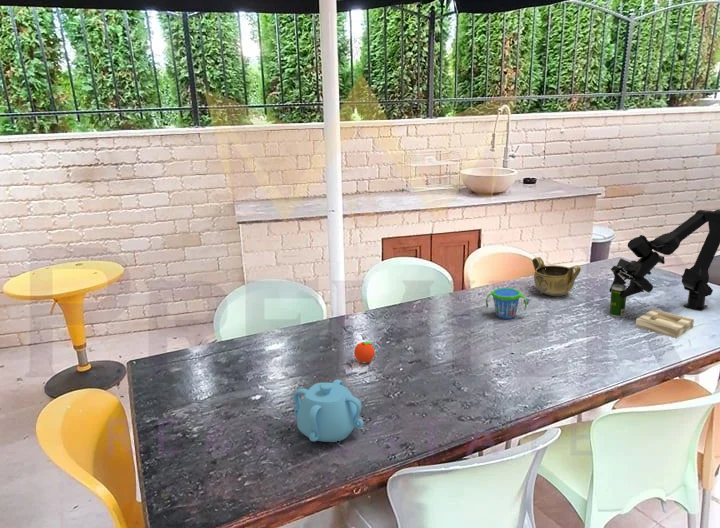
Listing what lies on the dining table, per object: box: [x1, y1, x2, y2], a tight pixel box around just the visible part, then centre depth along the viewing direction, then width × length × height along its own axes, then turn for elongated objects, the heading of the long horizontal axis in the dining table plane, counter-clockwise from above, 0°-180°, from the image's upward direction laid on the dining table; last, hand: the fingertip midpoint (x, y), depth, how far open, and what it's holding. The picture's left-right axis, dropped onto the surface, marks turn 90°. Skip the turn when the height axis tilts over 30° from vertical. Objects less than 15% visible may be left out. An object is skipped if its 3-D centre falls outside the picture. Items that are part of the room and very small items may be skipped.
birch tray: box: [635, 308, 695, 339], centre depth 190 cm, size 14×14×4 cm
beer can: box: [608, 284, 628, 318], centre depth 201 cm, size 5×5×12 cm
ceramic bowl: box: [532, 256, 582, 297], centre depth 226 cm, size 22×17×15 cm
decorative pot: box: [293, 379, 365, 443], centre depth 136 cm, size 16×16×14 cm
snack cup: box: [485, 287, 528, 320], centre depth 205 cm, size 16×10×10 cm
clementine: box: [353, 341, 376, 363], centre depth 174 cm, size 8×7×7 cm
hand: (615, 294), depth 200 cm, fingers open, 7 cm apart
